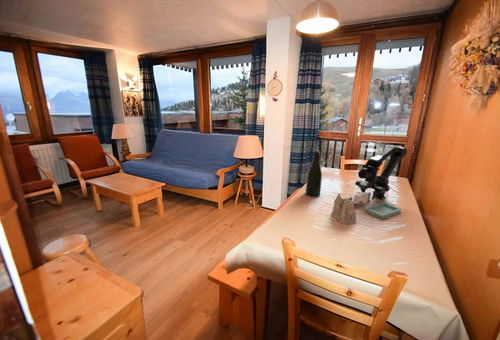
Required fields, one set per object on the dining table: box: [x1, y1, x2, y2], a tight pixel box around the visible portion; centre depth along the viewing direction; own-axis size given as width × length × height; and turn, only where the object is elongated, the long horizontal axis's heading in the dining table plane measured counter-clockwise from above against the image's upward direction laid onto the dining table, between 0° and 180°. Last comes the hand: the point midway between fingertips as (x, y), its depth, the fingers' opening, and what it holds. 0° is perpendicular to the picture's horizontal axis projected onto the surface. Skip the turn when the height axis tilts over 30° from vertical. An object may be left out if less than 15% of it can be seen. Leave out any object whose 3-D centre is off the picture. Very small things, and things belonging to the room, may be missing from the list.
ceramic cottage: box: [330, 193, 357, 226], centre depth 129 cm, size 16×16×15 cm
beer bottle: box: [305, 149, 323, 198], centre depth 158 cm, size 10×10×33 cm
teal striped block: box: [353, 191, 372, 204], centre depth 152 cm, size 12×5×6 cm, turn 119°
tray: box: [364, 201, 402, 220], centre depth 137 cm, size 19×11×2 cm, turn 119°
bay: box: [343, 196, 364, 209], centre depth 147 cm, size 7×9×3 cm
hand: (367, 197), depth 154 cm, fingers open, 7 cm apart
